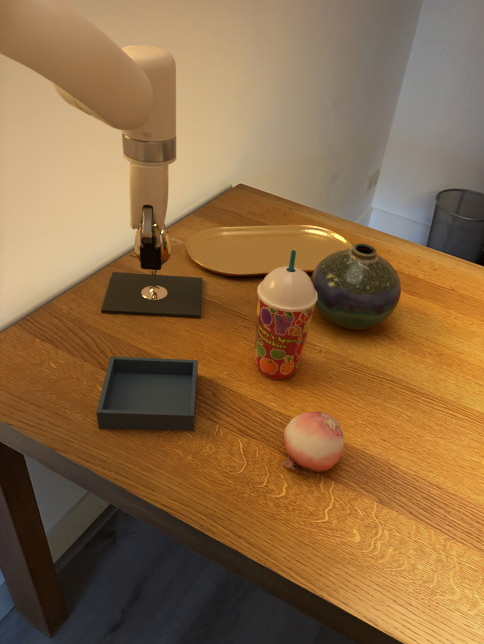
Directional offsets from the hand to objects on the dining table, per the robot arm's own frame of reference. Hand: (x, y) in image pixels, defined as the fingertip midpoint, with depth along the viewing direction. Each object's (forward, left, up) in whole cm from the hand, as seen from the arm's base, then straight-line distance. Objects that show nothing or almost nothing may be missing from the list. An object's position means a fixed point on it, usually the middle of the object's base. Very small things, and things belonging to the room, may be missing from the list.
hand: (153, 256), depth 90 cm
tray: (+2, -26, -8) cm, 27 cm away
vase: (+34, -3, -8) cm, 35 cm away
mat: (0, 0, -8) cm, 8 cm away
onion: (+23, -36, -8) cm, 43 cm away
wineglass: (0, 0, -7) cm, 7 cm away
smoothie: (+20, -18, -8) cm, 28 cm away
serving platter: (+22, +18, -8) cm, 29 cm away
